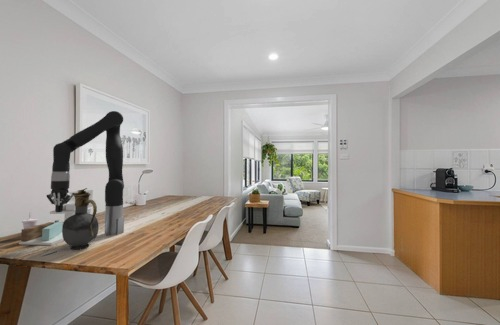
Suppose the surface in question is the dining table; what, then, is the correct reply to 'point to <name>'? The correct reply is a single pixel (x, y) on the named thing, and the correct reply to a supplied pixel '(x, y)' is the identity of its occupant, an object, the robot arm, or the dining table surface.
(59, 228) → the arm
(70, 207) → the architectural model
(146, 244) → the dining table surface
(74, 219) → the pitcher
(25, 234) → the arm
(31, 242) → the board
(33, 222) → the smoothie
